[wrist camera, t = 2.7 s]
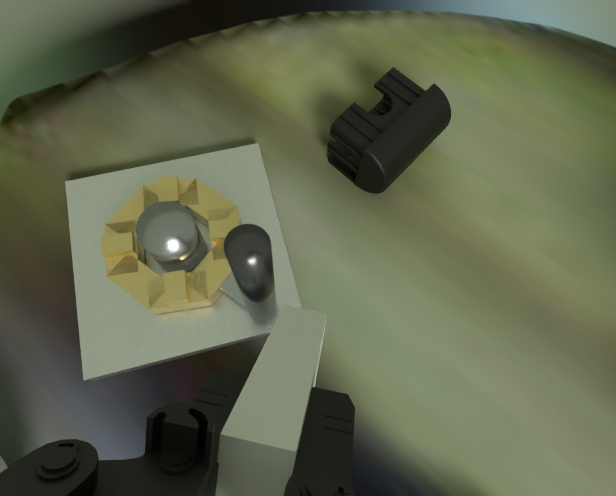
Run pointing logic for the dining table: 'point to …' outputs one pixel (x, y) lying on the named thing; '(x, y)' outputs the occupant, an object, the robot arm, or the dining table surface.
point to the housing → (167, 263)
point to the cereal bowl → (2, 465)
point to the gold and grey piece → (212, 269)
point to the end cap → (387, 132)
